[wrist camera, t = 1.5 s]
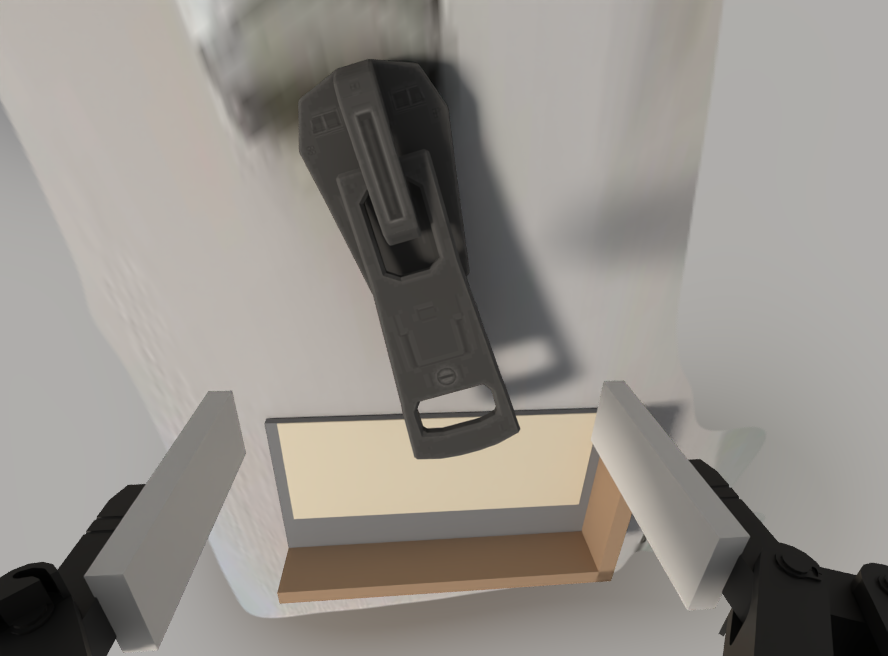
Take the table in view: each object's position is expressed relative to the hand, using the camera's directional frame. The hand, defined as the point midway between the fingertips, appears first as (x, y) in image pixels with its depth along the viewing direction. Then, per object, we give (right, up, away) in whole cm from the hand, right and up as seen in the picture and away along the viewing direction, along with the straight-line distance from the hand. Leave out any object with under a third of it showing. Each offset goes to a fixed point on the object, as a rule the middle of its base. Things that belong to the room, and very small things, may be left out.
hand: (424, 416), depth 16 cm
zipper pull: (-1, +8, +16) cm, 18 cm away
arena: (0, -11, +25) cm, 28 cm away
